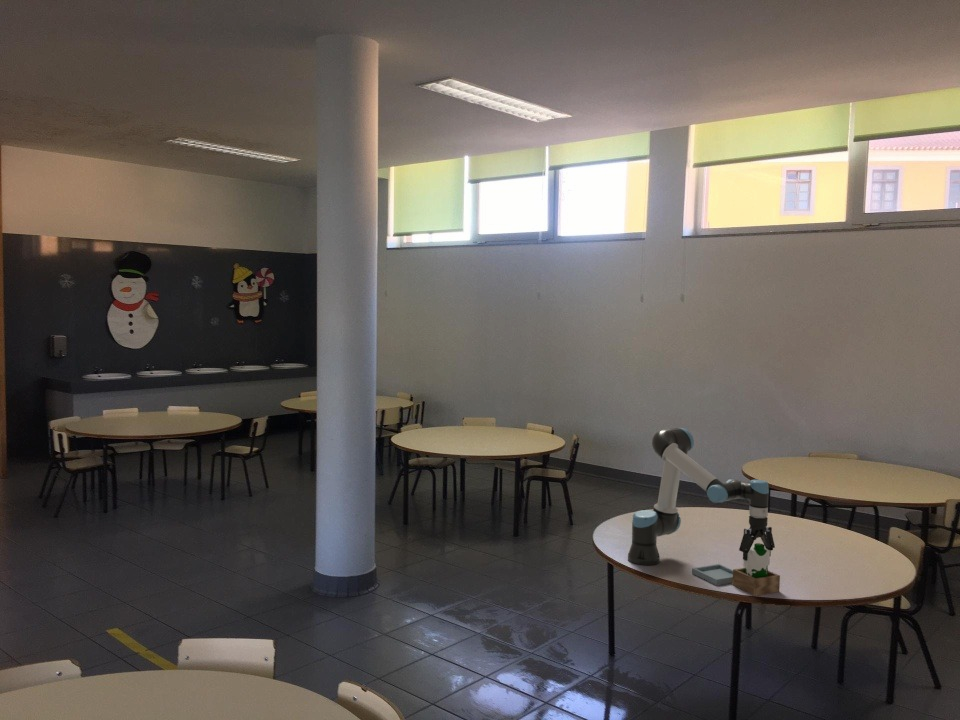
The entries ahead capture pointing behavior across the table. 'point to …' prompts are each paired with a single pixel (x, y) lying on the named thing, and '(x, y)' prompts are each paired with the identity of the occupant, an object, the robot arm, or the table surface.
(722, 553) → the table surface
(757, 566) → the soya milk
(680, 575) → the table surface
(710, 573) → the tray
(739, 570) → the holder
